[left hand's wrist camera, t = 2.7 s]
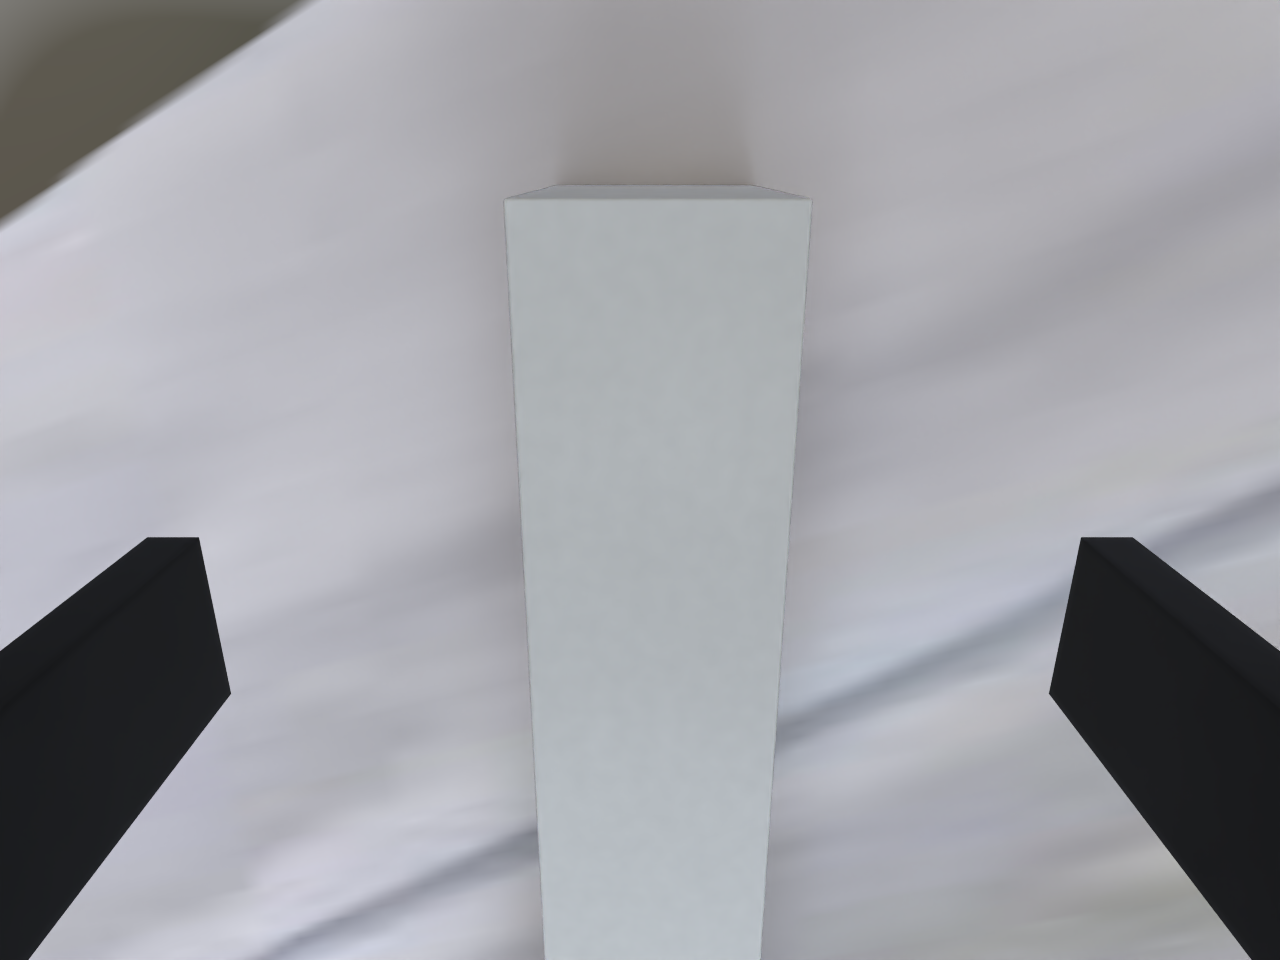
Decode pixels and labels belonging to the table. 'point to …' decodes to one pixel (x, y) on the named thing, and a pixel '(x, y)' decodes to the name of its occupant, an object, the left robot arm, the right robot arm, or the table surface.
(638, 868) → the beam
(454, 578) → the table surface
